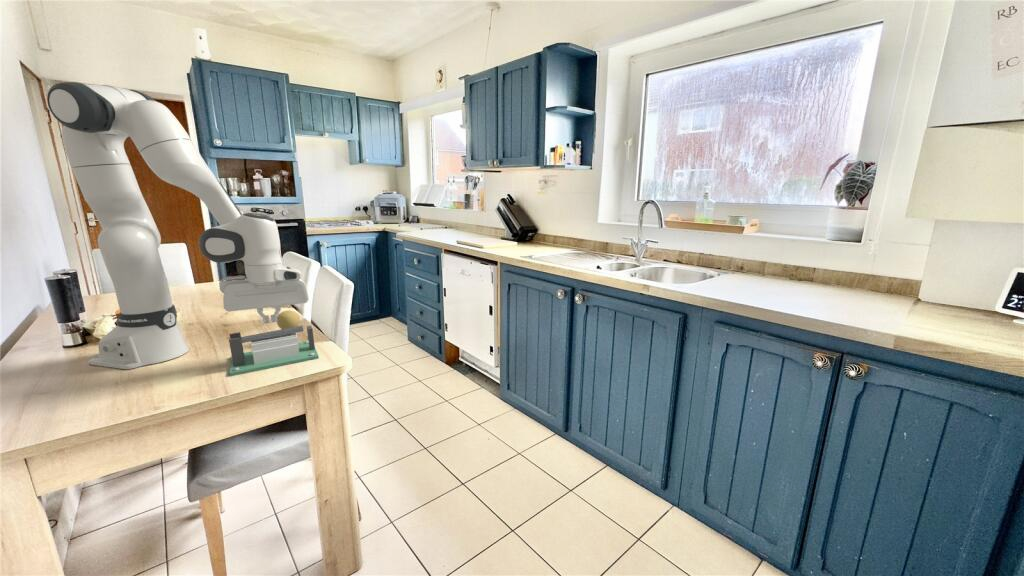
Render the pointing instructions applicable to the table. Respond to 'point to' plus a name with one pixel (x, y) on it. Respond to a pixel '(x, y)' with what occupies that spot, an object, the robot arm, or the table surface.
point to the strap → (271, 334)
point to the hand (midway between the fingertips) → (270, 321)
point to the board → (273, 363)
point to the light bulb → (288, 319)
